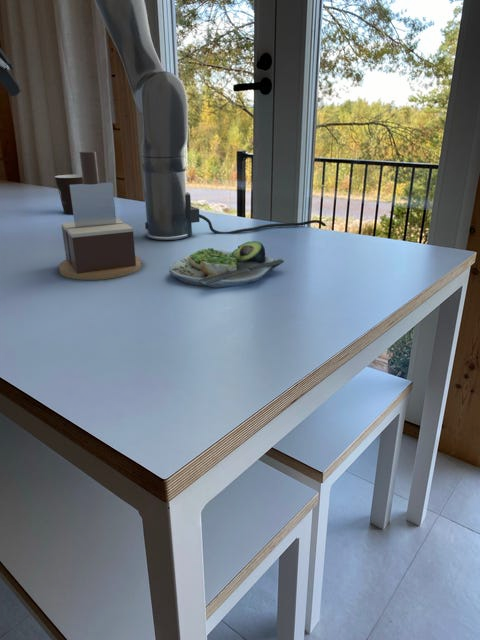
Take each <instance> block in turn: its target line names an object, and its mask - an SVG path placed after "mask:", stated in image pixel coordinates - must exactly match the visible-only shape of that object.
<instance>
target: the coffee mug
mask: <svg viewBox="0 0 480 640" xmlns="http://www.w3.org/2000/svg"><path fill="white" fill-rule="evenodd" d="M54 179H55V182H56V183H55V184H56V187H57V191H58V195H59V198H60V201H61V206H62V209H63V214H64V215H72V216H74V215H73V207H72V200H71V192H70V185H73V184H83V178H82V174H60V175H55V176H54Z"/></svg>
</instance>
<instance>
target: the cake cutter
mask: <svg viewBox="0 0 480 640" xmlns="http://www.w3.org/2000/svg"><path fill="white" fill-rule="evenodd" d="M97 157H98V156H97V152H96V151H93V150H92V151H90V150H88V151H79V161H80V168H81V175H82V178H83V184H73V185H70V192H71V200H72V207H73V215H72V216H73V222H75V227H86V226H96V225H107V224H116V218H117V216H116V206H115V205H116V204H115V194H114V185H113V182H111V181H109V182H100V178H99V177H100V176H99V168H98V158H97Z"/></svg>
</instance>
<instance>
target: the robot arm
mask: <svg viewBox="0 0 480 640" xmlns="http://www.w3.org/2000/svg"><path fill="white" fill-rule="evenodd" d="M93 1H94V3H95V6H96V9H97V11H98V12H99V15H100V17H101V19H102V22H103V24H104V26H105V28H106V31H107V32H108V35H109V36H110V38H111V40H112V42H113V45H114V46H115V49H116V50H117V52H118V55H119V58H120V60H121V63H122V65H123V68H124V72H125V75H126V78H127V81H128V84H129V87H130V90H131V94H132V97H133V100H134V103H135V105H136V108H137V110H138V111H139V112H140V114H141V115H142V123H143V137H142V141H141V146H140V147H141V160H142V161H141V162H142V173H143V190H144V199H145V200H144V201H145V214H146V215H145V216H146V222H144V225H145V230H146V231H147V232H146V235H147V238H149V239H151V240H155V241H156V240H157V241H175V240H182V239H185V238H189V237H192V236H193V231H192V230H193V227H192V224H194V223H200V219H202V220H204V221H205V222H206V223H207V224H208V226H209V230H210V231H211V232H212V233H214V234H216V235H217V234H218V235H229V234H230V235H232V234H233V235H234V234H240V233H247V232H253V231H257V230H261V229H265V228H266V229H267V228H274V227H296V226H297V227H298V226H299V227H301V226H306V225H310V224H320V225H321V226H322V227H327V224H326V223H325V222H324V221H322V220H319V219H312V220H311V219H310V220H306V221H302V222H280V223H279V222H277V223H269V224H268V223H267V224H262V225H258V226H253V227H246V228H241V229H240V228H239V229H236V230H230V231H219V230H216V229H215V228H214V227H213V224H212V221H211V220H210V219H209V218H208V217H206V216H204V215H203V214H200V209H199V208H198V207H195V206H192V199H191V197H192V196H191V193H190V192H188V184H187V183H188V181H187V161H186V149H187V143H188V138H189V129H188V127H189V125H188V123H189V122H188V120H189V118H188V112H189V111H188V96H187V91H186V88H185V85H184V83H183V82H182V81H181V79H180V78H179V77H178V76H177V75H176V74H174V73H172V72H169V71H166V70H165V69H164V67H163V65H162V62H161V61H160V58H159V56H158V53H157V51H156V48H155V46H154V43H153V39H152V35H151V30H150V29H151V27H150V23H149V17H148V10H147V4H146V0H93ZM14 68H15V66H14V64H13V63H12V61H11V60H10V59H9V58H8V56H7V55H6V54H5V52H4V51H3V50H2V47H0V83H1V85H2V87H4V89H5V90H6V92H7V93H8V95H9V96H11V97H15V98H16V97H17V96H18V95H19V94H20V93H21V92H22V87H21V85H20V84H19V83H18V81H17V80H16V78H15V76H14V75H13V74H12V73H11V71H13V70H14Z"/></svg>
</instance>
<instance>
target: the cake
mask: <svg viewBox="0 0 480 640" xmlns="http://www.w3.org/2000/svg"><path fill="white" fill-rule="evenodd" d="M60 225H61V230H62V231H61V232H62V239H63V245H64V252H65V259H64V260H63V261H61V262H60V263H59V264H58V270H59V274H60V275H62V276H63V277H66V278H68V279H73V280H82V281H99V280H110V279H116V278H121V277H124V276H125V277H126V276H128V275H131V274H134V273H135V272H138V271H139V270H140V269H141V266H142V263H141V262H142V261H141V258H139V257H138V256H137V255H136V249H135V248H136V247H135V238H134V228H133V227H132V226H131V225H128V224H127V223H125V222H124V221H123V220H121V219H119V218H118V217H116V224H107V225H96V226H86V227H75V222H74V221H71V222H70V221H69V222H61V223H60Z"/></svg>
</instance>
